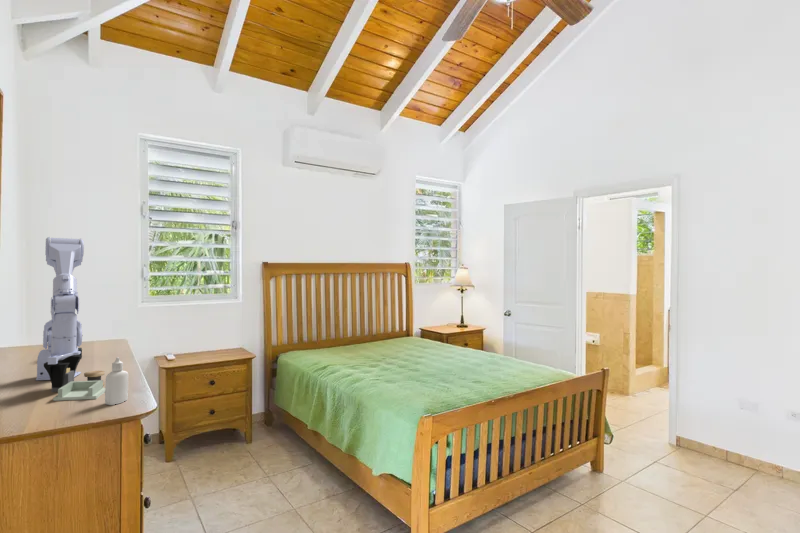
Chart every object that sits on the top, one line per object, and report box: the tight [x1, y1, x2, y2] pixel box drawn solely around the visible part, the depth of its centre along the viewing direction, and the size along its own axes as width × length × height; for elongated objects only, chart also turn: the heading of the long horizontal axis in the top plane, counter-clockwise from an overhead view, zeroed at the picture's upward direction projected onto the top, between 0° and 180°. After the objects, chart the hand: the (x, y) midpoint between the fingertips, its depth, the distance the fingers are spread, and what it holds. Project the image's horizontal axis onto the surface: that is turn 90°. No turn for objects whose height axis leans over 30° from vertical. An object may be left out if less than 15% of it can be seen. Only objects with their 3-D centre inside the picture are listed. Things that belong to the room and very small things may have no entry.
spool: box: [83, 370, 105, 387], centre depth 135 cm, size 5×5×4 cm
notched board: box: [52, 379, 105, 402], centre depth 126 cm, size 10×8×3 cm
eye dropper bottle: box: [104, 356, 129, 406], centre depth 121 cm, size 4×6×12 cm
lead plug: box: [51, 368, 75, 393], centre depth 130 cm, size 4×4×6 cm
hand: (63, 383), depth 130 cm, fingers open, 6 cm apart
